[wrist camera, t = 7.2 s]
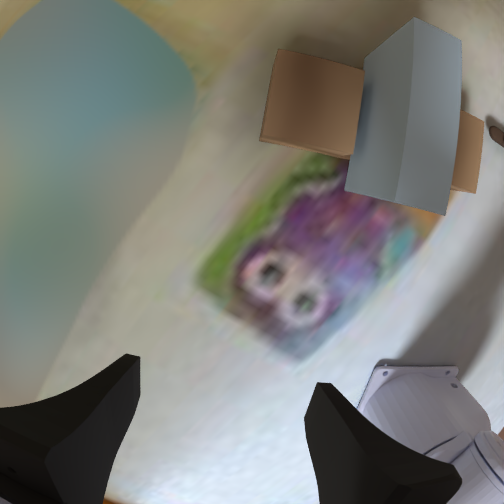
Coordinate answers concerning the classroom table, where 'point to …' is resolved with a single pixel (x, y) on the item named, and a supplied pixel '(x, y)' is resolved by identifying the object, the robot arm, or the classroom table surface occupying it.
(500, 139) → the brown monkey toy
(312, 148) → the brown u-shaped block
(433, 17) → the classroom table surface
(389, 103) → the pale grey-blue block
